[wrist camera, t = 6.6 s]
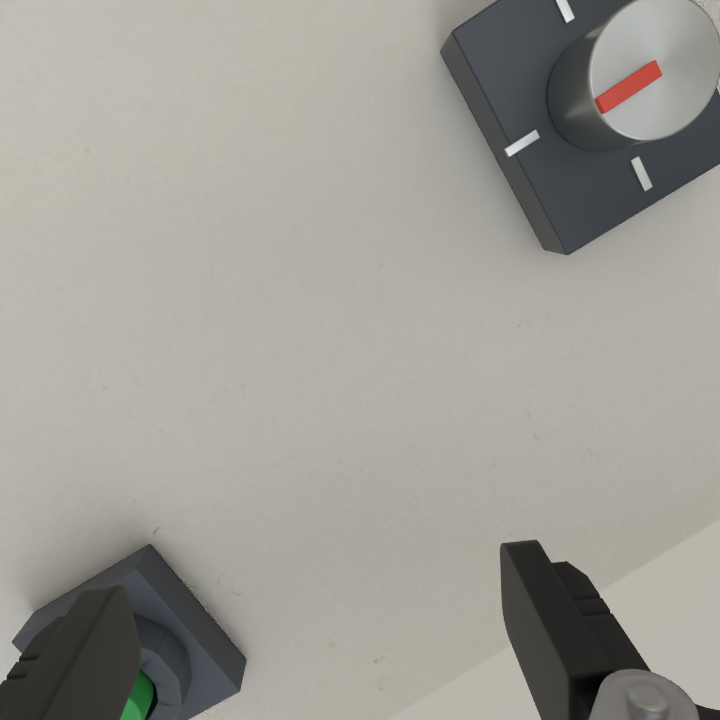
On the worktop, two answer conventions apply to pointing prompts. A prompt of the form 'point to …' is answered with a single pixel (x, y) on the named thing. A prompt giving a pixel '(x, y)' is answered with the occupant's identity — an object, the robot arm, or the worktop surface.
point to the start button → (139, 699)
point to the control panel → (542, 139)
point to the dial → (636, 75)
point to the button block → (163, 637)
